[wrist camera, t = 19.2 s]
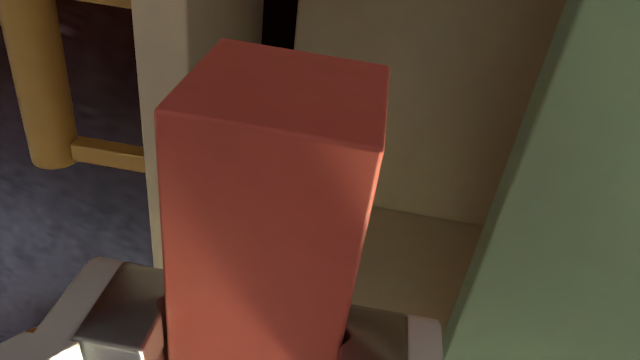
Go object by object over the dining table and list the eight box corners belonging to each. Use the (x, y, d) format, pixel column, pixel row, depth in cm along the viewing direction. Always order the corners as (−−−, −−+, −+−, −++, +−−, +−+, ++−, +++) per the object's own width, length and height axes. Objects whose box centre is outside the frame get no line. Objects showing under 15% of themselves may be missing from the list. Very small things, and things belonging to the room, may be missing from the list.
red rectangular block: (220, 35, 8) (150, 108, 6) (391, 64, 8) (385, 149, 6) (215, 369, 12) (174, 481, 10) (324, 390, 12) (306, 509, 10)
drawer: (114, 174, 23) (6, 299, 16) (65, -214, 15) (-164, -248, 9) (547, 250, 22) (602, 412, 16) (723, -125, 14) (960, -97, 8)
